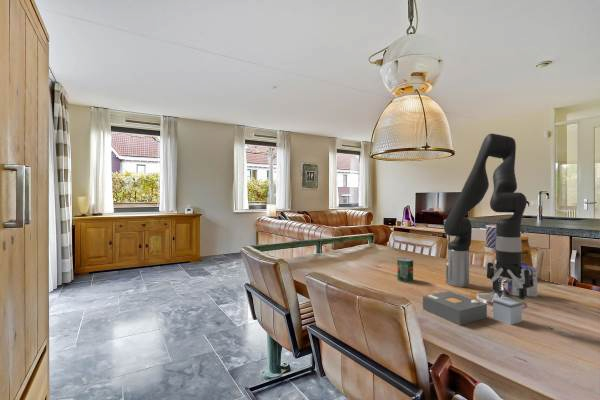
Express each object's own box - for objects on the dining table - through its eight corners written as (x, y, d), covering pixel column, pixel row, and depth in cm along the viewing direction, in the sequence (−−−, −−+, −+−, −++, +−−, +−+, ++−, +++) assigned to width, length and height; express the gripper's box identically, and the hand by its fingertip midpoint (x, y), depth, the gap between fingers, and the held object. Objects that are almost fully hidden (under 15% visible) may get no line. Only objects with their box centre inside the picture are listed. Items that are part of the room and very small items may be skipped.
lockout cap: (492, 318, 107) (493, 298, 107) (503, 315, 109) (503, 296, 109) (510, 325, 101) (510, 304, 101) (521, 321, 104) (521, 301, 104)
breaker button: (444, 311, 113) (444, 299, 113) (452, 309, 114) (452, 297, 114) (454, 316, 109) (454, 303, 109) (462, 314, 110) (462, 301, 110)
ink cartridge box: (531, 293, 133) (531, 260, 133) (538, 297, 128) (538, 263, 127) (506, 291, 135) (506, 260, 135) (512, 295, 130) (512, 262, 129)
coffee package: (534, 281, 150) (534, 238, 150) (505, 278, 156) (505, 236, 155) (529, 276, 159) (529, 235, 159) (501, 274, 165) (501, 234, 164)
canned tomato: (415, 282, 151) (415, 260, 151) (400, 282, 151) (399, 260, 151) (410, 278, 159) (410, 257, 159) (395, 278, 159) (395, 257, 159)
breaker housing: (422, 308, 116) (422, 294, 116) (448, 303, 122) (448, 289, 122) (459, 325, 101) (459, 308, 101) (486, 318, 107) (486, 302, 107)
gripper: (537, 251, 100) (538, 299, 100) (494, 245, 113) (495, 288, 113) (524, 253, 97) (524, 303, 97) (481, 247, 110) (482, 291, 110)
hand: (508, 295), depth 105 cm, fingers open, 8 cm apart
